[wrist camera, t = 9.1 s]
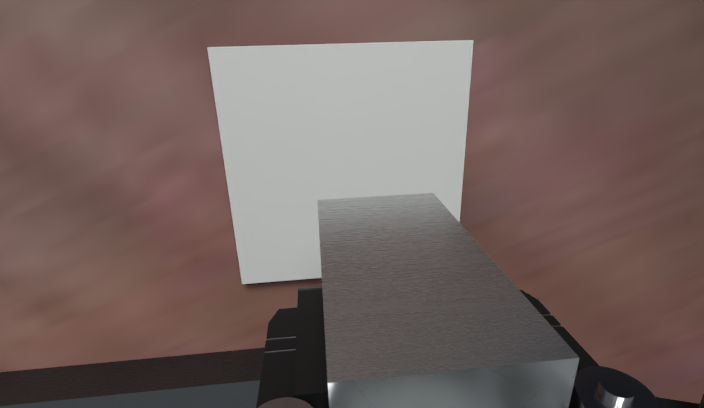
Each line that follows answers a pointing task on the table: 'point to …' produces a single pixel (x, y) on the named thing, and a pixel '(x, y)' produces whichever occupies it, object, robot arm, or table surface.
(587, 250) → the table surface
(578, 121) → the table surface
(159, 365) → the dark grey flat block
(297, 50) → the off-white plate
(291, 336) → the robot arm
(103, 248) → the table surface
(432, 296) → the tall gray box
